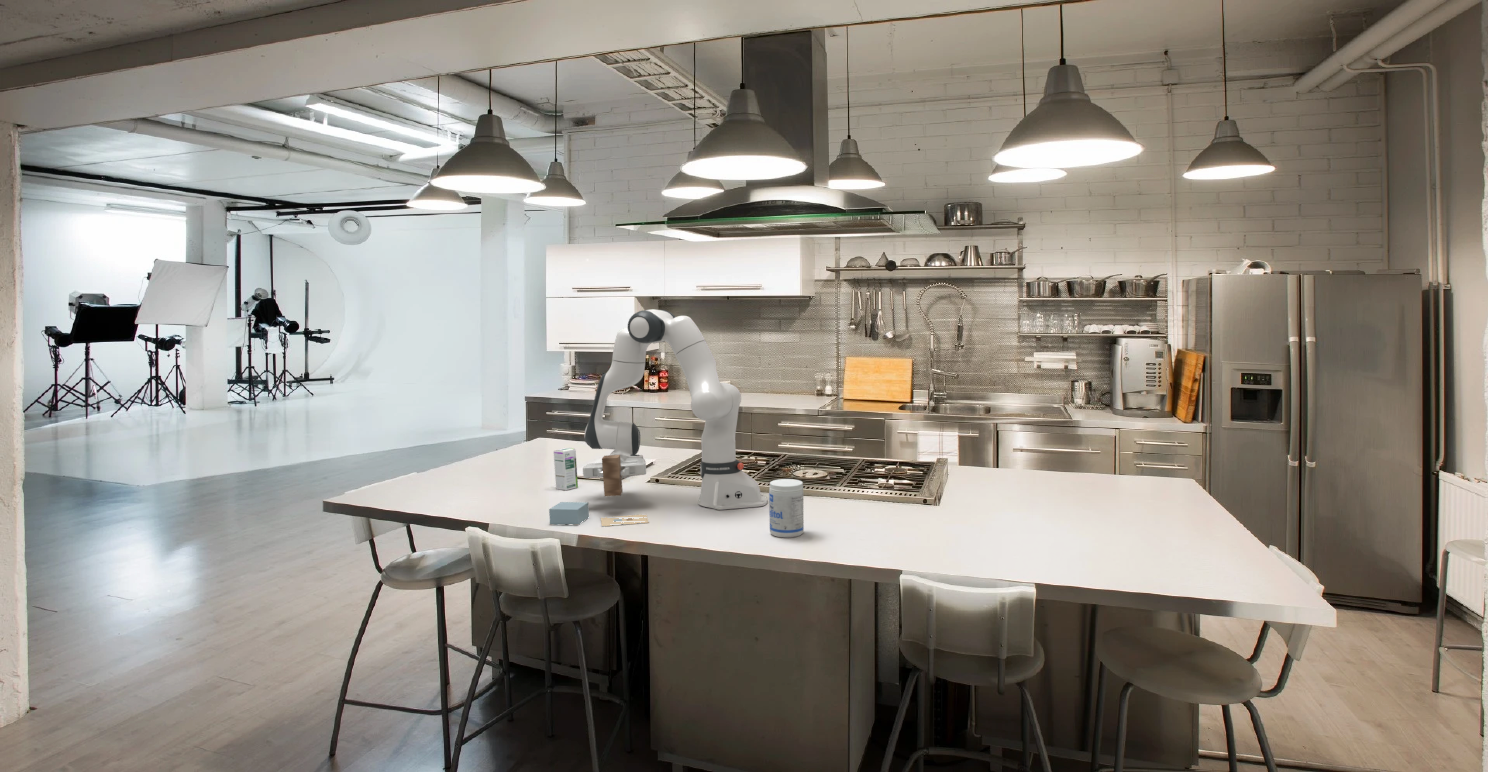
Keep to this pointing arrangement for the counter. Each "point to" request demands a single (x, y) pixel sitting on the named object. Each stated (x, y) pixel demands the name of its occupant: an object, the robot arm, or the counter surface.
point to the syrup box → (565, 468)
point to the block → (612, 475)
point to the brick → (569, 513)
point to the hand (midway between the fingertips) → (611, 474)
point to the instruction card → (609, 521)
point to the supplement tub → (786, 508)
